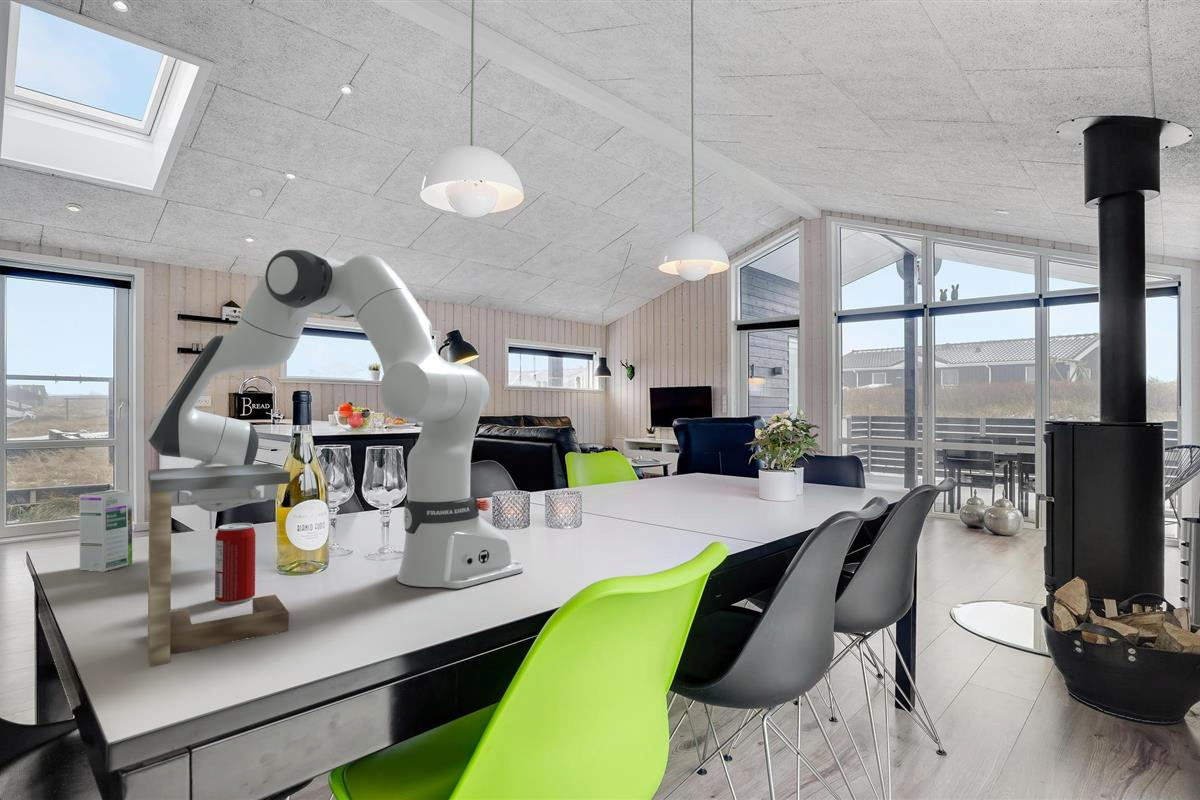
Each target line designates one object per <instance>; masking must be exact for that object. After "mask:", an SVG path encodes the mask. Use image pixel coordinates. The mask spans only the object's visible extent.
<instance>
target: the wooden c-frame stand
mask: <svg viewBox="0 0 1200 800" xmlns="http://www.w3.org/2000/svg"><path fill="white" fill-rule="evenodd" d="M147 471H148V472H147V482H148V489H149V490H148V491H149V492H148V493H149V494H148V496H149V497H148V499H149V500H148V595H147V596H148V597H147V598H148V601H147V602H148V603H147V605H148V607H147V611H148V613H147V615H148V616H147V617H148V618H147V619H148V620H147V651H148V664H149V666H148V667H151V668H152V667H154V666H160V665H164V664H170V663H171V654H170V614H171V612H172V611H171V606H172V605H171V602H172V601H171V600H172V599H171V597H172V595H171V594H172V593H171V589H172V588H171V587H172V586H171V585H172V507H171V492H173V491H187V490H202V489H217V488H231V487H246V486H261V485H275V484H283V485H287V484H288V485H289V484H291V472H290V471H288V470H286V469H284V468H281V467H279V466H277V465H274V464H273V463H272V464H271V463H259V464H257V463H256V464H253V465H235V466H214V467H195V466H193V467H179V468H174V467H173V468H158V469H157V468H156V469H155V468H154V469H147Z"/></svg>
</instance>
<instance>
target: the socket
mask: <svg viewBox="0 0 1200 800" xmlns="http://www.w3.org/2000/svg"><path fill="white" fill-rule="evenodd" d="M288 630H289V631H290V611H289V610H288V609H287V608H286V606H285V605H284V604H283V603H282V601H281V600H280V599H279V597H278V596H277V594H270V595H265V596H264V595H263V596H258V597H253V598H252V612H251V613H247V614H242V615H237V616H236V615H235V616H230V617H224V618H219V619H214V620H213V619H212V620H208V621H203V622H202V621H201V622H196V623H192V622H191V617H190V614H189V610H188V608H186V609H179V610H173V611H171V614H170V655H173V654H177V653H182V652H183V653H184V652H187V651H193V650H197V649H198V650H199V649H203V648H208V647H209V648H210V647H214V646H218V645H223V644H228V642H229V643H233V642H232V641H234V642H238V641H237V640H239V641H243V639H244V640H247V639H246V638H249V639H253V638H252V637H254V638H258V637H257V636H259V637H262V636H263V635H264V636H268V635H267V634H269V635H273V634H272V633H274V634H277V633H276V632H279V633H283V632H282V631H284V632H289V631H288ZM264 636H263V637H264Z"/></svg>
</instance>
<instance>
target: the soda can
mask: <svg viewBox="0 0 1200 800" xmlns="http://www.w3.org/2000/svg"><path fill="white" fill-rule="evenodd" d="M214 548H215V549H214V550H215V552H214V553H215V562H214V563H215V565H214V568H215V569H214V570H215V571H214V579H215V580H214V582H215V583H214V600H215V601H217V603H218V604H220V605H236V604H235V603H237V604H241V602H242V603H245V601H246V602H248V600H249V601H251V600H253V598H254V597H255V596H256V531H255V528H254V524H253V523H250V522H237V523H228V524H227V523H226V524H223V525H219V526H218V527H217V531H216V535H215V547H214ZM250 599H251V600H250Z"/></svg>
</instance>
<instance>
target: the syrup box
mask: <svg viewBox="0 0 1200 800" xmlns="http://www.w3.org/2000/svg"><path fill="white" fill-rule="evenodd" d="M132 493H133V492H132V491H131V490H128V489H126V490H125V489H112V490H111V489H109V490H104V491H97V492H91V493H90V492H89V493H82V494H80V495H78V504H79V505H78V507H79V508H78V509H79V510H78V511H79V512H78V513H79V516H78V517H79V518H78V521H79V522H78V523H79V530H78V531H79V570H80V571H82V570H92V571H101V572H100V573H106V572H108V570H109V571H112V570H115V569H119V568H124V567H127V566H132V565H133V498H132V497H133V494H132ZM105 571H106V572H105Z"/></svg>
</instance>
